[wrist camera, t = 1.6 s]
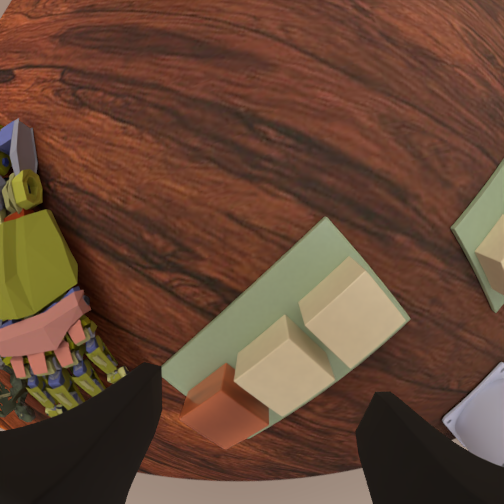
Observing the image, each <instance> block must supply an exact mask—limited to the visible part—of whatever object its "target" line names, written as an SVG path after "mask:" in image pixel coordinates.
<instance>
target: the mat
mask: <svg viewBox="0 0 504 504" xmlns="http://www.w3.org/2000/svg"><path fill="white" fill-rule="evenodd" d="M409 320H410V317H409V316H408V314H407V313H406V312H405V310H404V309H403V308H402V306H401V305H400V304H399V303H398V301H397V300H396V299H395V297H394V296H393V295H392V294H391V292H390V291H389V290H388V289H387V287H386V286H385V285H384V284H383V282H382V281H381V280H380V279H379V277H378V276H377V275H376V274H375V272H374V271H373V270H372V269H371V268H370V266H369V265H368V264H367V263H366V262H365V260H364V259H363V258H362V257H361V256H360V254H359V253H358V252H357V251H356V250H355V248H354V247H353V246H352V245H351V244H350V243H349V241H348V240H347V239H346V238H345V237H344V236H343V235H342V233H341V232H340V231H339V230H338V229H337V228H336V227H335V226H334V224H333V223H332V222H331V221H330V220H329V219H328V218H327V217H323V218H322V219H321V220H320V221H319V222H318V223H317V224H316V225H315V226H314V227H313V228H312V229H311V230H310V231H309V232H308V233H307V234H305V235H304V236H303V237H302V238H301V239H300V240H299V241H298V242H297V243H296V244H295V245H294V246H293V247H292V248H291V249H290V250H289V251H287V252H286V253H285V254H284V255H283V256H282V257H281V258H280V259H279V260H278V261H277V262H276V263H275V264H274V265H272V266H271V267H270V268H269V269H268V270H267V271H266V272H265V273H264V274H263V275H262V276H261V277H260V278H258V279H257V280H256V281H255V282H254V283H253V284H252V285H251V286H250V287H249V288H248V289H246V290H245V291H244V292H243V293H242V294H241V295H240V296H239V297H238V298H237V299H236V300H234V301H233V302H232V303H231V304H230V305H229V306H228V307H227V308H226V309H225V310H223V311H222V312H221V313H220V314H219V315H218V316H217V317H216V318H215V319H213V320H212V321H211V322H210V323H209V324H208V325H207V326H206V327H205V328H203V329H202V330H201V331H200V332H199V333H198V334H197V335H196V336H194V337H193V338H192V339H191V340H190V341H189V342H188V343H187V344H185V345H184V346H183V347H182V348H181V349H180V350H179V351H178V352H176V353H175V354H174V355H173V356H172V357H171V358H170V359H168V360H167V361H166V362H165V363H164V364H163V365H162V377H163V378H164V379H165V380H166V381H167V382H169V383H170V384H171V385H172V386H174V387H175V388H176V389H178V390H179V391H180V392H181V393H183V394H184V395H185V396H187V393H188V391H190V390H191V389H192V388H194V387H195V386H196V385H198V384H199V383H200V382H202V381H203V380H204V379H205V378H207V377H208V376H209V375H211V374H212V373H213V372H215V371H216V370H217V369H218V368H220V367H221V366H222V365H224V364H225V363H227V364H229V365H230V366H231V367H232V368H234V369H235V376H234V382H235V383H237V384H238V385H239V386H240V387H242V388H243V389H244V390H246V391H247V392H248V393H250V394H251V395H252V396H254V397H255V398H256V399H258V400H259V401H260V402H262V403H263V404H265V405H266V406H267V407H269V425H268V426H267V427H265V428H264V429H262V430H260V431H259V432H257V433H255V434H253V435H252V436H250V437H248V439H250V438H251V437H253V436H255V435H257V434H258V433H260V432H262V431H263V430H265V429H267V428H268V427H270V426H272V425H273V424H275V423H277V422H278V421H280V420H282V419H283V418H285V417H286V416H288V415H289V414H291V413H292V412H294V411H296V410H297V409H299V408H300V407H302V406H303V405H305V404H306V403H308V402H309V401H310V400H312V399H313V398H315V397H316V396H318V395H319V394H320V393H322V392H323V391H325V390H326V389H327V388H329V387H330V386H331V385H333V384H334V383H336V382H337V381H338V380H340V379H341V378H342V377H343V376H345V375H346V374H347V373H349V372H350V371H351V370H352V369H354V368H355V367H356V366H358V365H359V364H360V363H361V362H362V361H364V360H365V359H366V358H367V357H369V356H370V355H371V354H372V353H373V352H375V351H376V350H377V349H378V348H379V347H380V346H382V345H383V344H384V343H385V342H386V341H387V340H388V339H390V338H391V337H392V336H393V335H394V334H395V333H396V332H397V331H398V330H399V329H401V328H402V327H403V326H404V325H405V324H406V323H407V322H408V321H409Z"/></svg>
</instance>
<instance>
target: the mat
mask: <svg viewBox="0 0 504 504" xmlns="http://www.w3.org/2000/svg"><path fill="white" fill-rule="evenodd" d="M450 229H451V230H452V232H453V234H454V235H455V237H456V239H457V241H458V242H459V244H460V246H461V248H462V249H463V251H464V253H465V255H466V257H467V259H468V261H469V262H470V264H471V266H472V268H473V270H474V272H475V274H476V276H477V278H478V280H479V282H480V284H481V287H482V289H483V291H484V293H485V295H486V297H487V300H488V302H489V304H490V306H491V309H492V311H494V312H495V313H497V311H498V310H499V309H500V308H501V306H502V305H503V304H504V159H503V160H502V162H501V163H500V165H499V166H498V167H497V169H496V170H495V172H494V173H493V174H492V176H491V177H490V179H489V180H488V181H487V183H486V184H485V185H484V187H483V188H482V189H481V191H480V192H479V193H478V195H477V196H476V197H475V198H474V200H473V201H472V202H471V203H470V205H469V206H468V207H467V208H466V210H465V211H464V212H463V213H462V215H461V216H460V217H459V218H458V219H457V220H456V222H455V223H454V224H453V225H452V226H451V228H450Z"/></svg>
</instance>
